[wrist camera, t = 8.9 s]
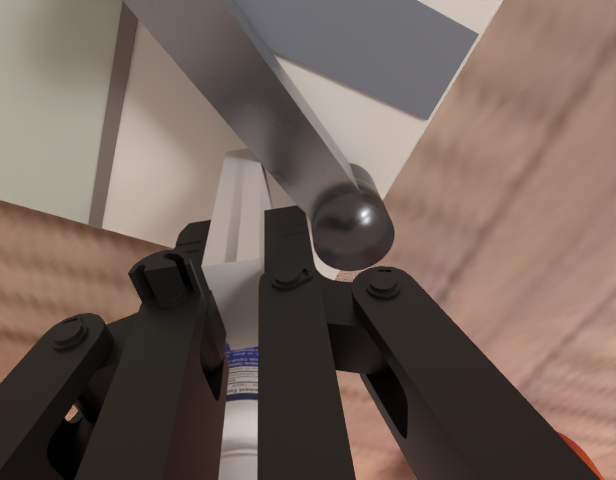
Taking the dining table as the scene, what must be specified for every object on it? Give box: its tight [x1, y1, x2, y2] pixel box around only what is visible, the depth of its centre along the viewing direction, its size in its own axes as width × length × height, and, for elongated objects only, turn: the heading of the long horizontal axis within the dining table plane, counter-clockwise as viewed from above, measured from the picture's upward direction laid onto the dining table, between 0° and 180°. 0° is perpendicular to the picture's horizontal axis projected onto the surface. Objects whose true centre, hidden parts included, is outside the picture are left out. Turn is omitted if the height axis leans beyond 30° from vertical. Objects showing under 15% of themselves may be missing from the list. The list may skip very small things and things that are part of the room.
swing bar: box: [123, 0, 394, 271], centre depth 12 cm, size 13×3×4 cm, turn 35°
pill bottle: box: [218, 338, 258, 480], centre depth 20 cm, size 5×5×9 cm
